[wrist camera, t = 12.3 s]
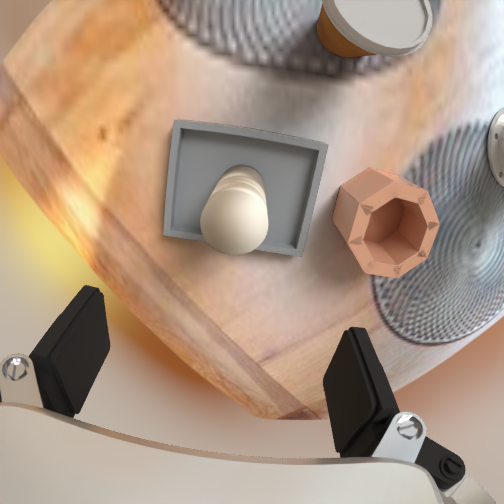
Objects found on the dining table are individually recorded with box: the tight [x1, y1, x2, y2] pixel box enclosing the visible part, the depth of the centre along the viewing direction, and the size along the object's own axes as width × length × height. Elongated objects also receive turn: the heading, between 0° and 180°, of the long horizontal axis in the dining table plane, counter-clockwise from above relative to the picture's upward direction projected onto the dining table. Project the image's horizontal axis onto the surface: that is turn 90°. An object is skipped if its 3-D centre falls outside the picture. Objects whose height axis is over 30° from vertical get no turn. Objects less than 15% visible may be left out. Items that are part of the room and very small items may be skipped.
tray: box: [163, 119, 328, 257], centre depth 33 cm, size 16×13×2 cm
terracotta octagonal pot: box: [332, 168, 440, 278], centre depth 32 cm, size 10×10×7 cm
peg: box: [200, 165, 268, 255], centre depth 28 cm, size 5×5×12 cm
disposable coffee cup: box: [317, 0, 432, 58], centre depth 21 cm, size 10×10×12 cm
